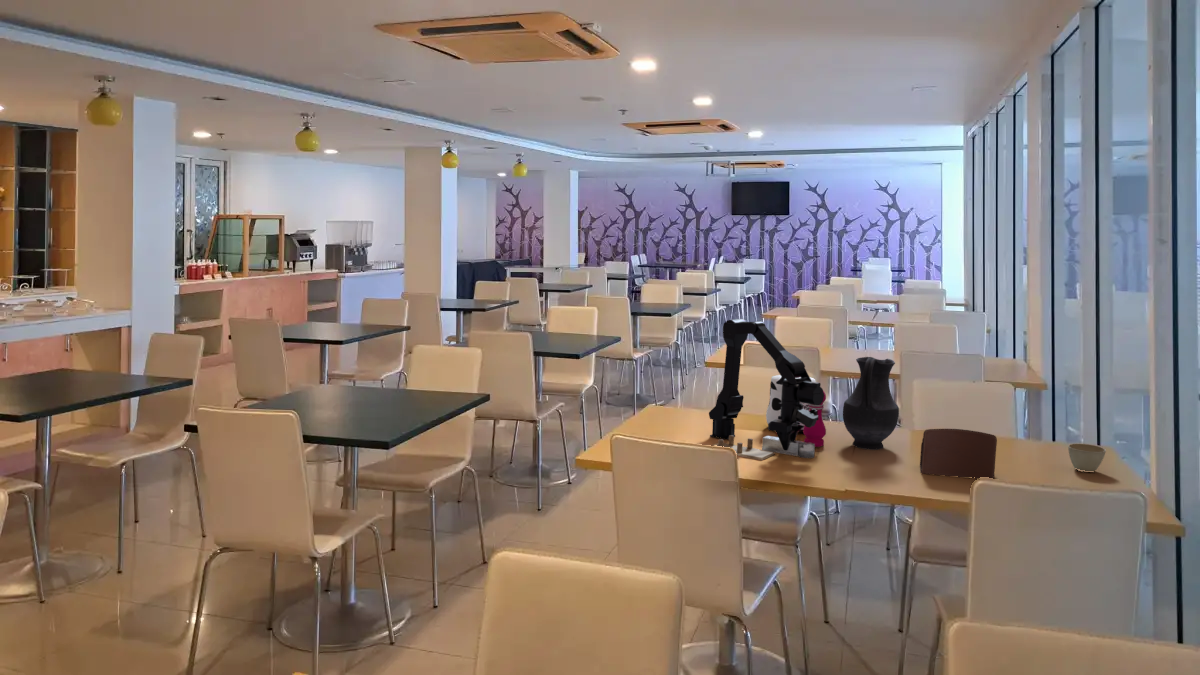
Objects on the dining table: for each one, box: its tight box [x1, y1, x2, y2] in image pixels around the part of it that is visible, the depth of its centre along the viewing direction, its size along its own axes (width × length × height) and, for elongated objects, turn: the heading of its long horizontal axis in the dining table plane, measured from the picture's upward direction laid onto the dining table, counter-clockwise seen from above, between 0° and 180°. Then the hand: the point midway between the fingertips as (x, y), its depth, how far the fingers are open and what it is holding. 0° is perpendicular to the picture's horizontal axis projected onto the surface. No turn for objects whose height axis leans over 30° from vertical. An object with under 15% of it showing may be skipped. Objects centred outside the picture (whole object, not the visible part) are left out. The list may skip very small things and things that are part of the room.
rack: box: [713, 435, 776, 461], centre depth 290 cm, size 19×9×4 cm, turn 55°
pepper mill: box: [803, 390, 827, 448], centre depth 302 cm, size 7×7×20 cm
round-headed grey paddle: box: [761, 435, 815, 459], centre depth 291 cm, size 16×5×4 cm, turn 55°
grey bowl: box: [1067, 442, 1107, 472], centre depth 278 cm, size 10×10×7 cm
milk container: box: [765, 374, 817, 433], centre depth 323 cm, size 17×17×18 cm
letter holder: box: [919, 428, 998, 480], centre depth 272 cm, size 10×20×14 cm, turn 72°
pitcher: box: [842, 356, 900, 451], centre depth 299 cm, size 17×21×30 cm
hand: (788, 449), depth 291 cm, fingers closed on round-headed grey paddle, 3 cm apart
